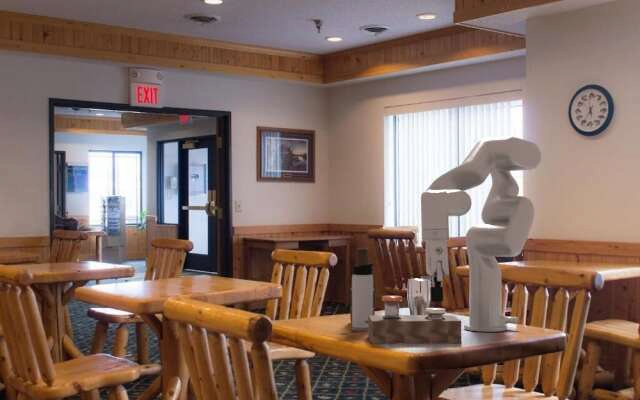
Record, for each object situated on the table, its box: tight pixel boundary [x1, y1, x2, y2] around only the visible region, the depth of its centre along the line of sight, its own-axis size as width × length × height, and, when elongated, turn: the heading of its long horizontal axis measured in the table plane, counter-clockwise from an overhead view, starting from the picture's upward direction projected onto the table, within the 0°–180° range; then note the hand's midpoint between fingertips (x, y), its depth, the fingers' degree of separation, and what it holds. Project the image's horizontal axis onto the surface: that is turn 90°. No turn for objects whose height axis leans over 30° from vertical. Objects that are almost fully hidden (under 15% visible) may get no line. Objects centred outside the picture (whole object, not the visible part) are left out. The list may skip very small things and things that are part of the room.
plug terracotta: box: [381, 295, 403, 319], centre depth 210 cm, size 6×6×8 cm
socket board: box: [367, 314, 462, 345], centre depth 210 cm, size 24×12×6 cm, turn 91°
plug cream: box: [425, 307, 446, 319], centre depth 210 cm, size 6×6×8 cm
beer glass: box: [406, 278, 431, 315], centre depth 229 cm, size 7×7×15 cm
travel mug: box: [351, 262, 375, 332], centre depth 228 cm, size 6×7×20 cm
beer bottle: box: [349, 247, 376, 324], centre depth 243 cm, size 8×8×24 cm
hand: (436, 301), depth 211 cm, fingers closed
